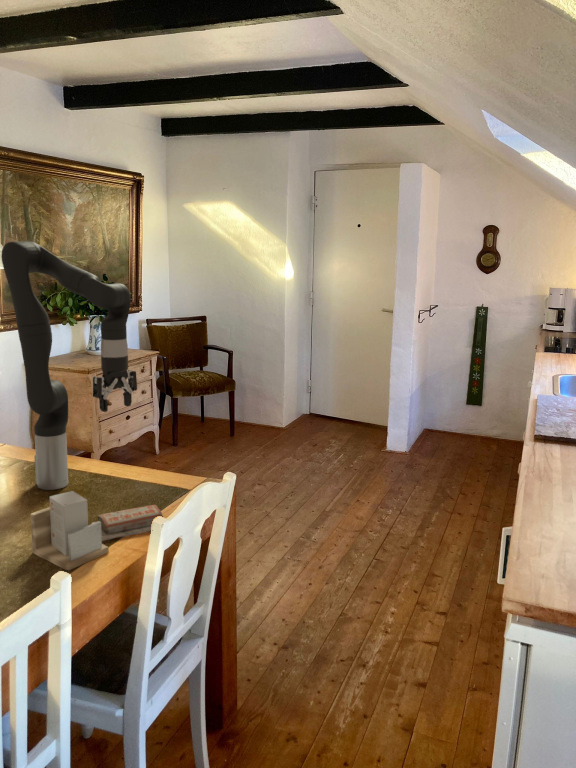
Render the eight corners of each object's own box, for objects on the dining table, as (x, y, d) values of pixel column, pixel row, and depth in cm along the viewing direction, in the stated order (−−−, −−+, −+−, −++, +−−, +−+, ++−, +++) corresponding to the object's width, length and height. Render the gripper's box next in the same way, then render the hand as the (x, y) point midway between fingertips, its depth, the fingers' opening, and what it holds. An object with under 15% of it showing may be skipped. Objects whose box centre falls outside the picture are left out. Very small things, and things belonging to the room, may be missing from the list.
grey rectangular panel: (69, 560, 155) (67, 533, 153) (99, 547, 162) (99, 521, 160) (71, 561, 154) (69, 534, 153) (102, 548, 161) (101, 522, 160)
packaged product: (154, 499, 185) (166, 512, 176) (154, 515, 186) (166, 529, 177) (90, 511, 175) (100, 525, 167) (90, 528, 177) (100, 543, 168)
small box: (90, 548, 161) (88, 499, 158) (65, 556, 156) (63, 506, 154) (74, 537, 166) (72, 490, 164) (50, 545, 162) (48, 496, 159)
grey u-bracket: (32, 553, 161) (30, 513, 159) (73, 536, 170) (72, 498, 168) (67, 570, 153) (65, 529, 151) (108, 552, 162) (107, 513, 160)
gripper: (125, 349, 194) (126, 402, 197) (85, 355, 182) (87, 411, 186) (142, 352, 190) (143, 406, 193) (102, 358, 178) (104, 415, 182)
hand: (115, 408), depth 190 cm, fingers open, 8 cm apart
